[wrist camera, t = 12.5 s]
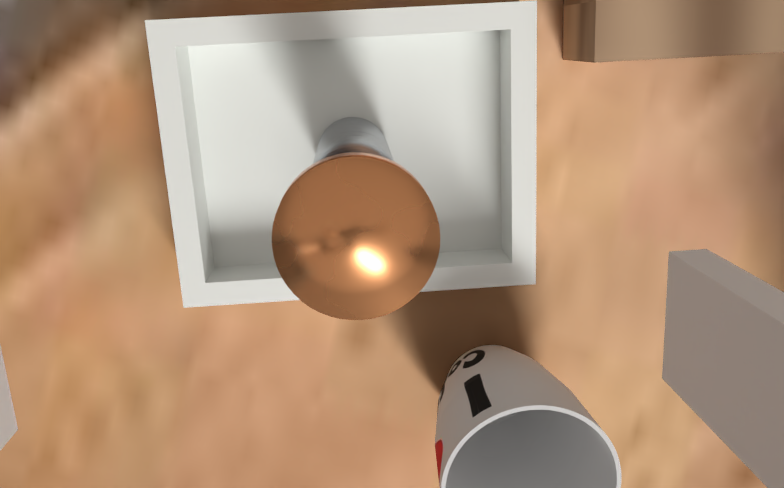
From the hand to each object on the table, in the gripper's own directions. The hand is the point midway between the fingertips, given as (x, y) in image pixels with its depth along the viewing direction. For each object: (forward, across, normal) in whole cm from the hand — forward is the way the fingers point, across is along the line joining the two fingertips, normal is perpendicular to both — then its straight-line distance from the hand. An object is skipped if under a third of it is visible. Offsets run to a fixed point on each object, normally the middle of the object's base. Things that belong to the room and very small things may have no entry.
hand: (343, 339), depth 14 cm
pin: (+24, +1, 0) cm, 24 cm away
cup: (+25, +8, -14) cm, 29 cm away
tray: (+25, +1, 0) cm, 25 cm away
